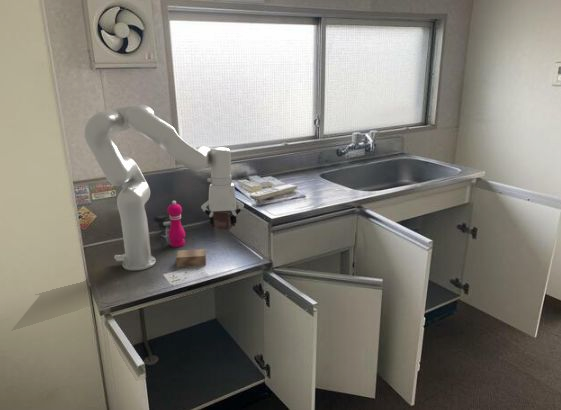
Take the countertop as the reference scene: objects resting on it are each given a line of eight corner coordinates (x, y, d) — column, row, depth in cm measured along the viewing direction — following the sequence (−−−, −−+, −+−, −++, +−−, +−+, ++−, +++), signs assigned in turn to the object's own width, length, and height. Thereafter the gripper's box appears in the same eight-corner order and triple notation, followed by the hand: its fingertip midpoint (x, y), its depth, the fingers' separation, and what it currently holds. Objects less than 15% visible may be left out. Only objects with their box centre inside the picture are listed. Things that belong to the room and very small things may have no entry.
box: (228, 231, 169) (228, 212, 166) (213, 230, 170) (212, 211, 168) (233, 225, 174) (232, 207, 172) (218, 224, 175) (218, 207, 173)
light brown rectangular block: (176, 267, 172) (176, 257, 171) (178, 259, 179) (177, 250, 178) (205, 265, 173) (204, 255, 172) (206, 258, 180) (205, 248, 179)
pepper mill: (188, 241, 198) (185, 198, 192) (182, 247, 191) (178, 203, 185) (172, 240, 199) (169, 198, 193) (166, 247, 192) (162, 202, 186)
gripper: (197, 184, 162) (200, 229, 167) (245, 182, 164) (246, 227, 169) (198, 179, 169) (201, 223, 174) (244, 177, 171) (245, 221, 176)
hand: (223, 225), depth 172 cm, fingers closed on box, 7 cm apart
